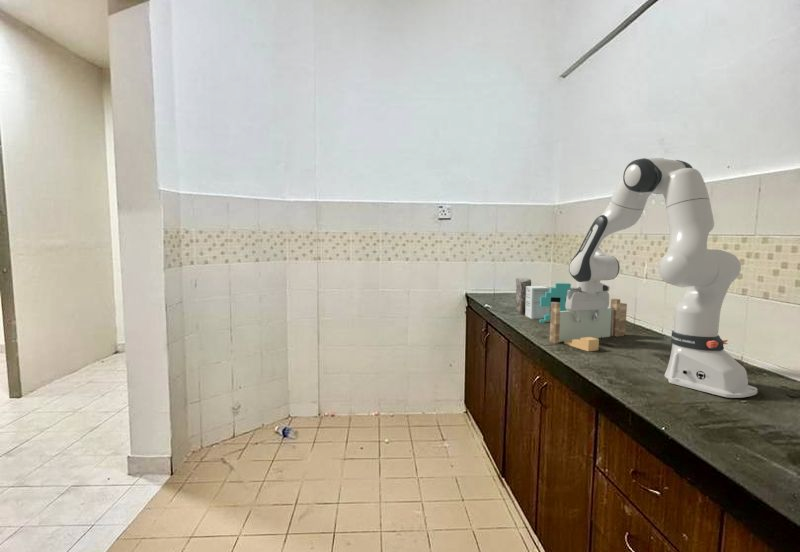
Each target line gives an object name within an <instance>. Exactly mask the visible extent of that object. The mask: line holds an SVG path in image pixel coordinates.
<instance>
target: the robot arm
mask: <svg viewBox="0 0 800 552" xmlns="http://www.w3.org/2000/svg"><path fill="white" fill-rule="evenodd" d="M652 194H654V195H663V198H664V202H665V208H666V213H667V219H668V227H669V243H668V247H667V249H666V250H667V251H666V252H665V254H664V255H663V256H662V258H661V259H660V261H659V264H658V273H659V276H660V278H661V279H662V280H663V281H664V282H665V283H666V284H669V285H672V286H675V287H679V288H686V290H685V292H684V295H683V296H682V297H681V299H680V300H679V301H678V302H677V303H676V305H675V308H674V317H673V318H674V319H673V330H672V331H671V337H670V338H671V339H670V340H671V341H670V344H671V350H670V356H669V361H668V365H667V368H666V370H665V373H664V377H665V378H666V379H667V380H668V383H669V384H672V385H677V386H681V387H683V388H687V389H688V388H689V389H693V390H695V391H699V392H704V393H709V394H710V395H711V394H712V395H714V396H715V395H716V396H719V397H724V398H730V399H733V398H734V399H735V398H739V399H742V398H747V397H748V398H749V397H753V396H755V395H757V394H758V388H757V387H755V386H752V385H749V380H748V374H747V370H746V368H745V367H744V366H743V365H742V364H741V363H739V362H738V361H737V360H736V359H735V358H734V357H733V356H731V355H730V354H729V353H728V352H727V351H726V350H724V349H725V346H724V345H728V343H727V342H728V341H729V340H728V339H725V340H723V339H722V337H721V336H720V335H719V330H720V329H719V327H720V317H721V311H722V310H721V309H722V307H723V303H724V300H725V298H726V295H727V293H728V290H729V289H730V286H731V285H732V284H733V282H734V281H735V280H737V278H738V277H739V276H740V274H741V270H742V267H741V262H740V260H739V258H738V257H737V256H736V255H734V254H733V253H731V252H728V251H725V250H722V249H717V248H716V249H708V237H709V235H710V232H712V231H713V229H714V227H715V221H714V215H713V209H712V205H711V201H710V195H709V191H708V188H707V186H706V183H705V181H704V178H703V175H702V174H701V172H700V171H699V170H698V169H696V168H694V167H693V166H692V165H691V164H690V163H688V162H686V161H683V160H680V159H679V160H678V159H675V160H674V159H667V158H658V157H657V158H638V159H635V160H632V161H631V162H629V163H628V164H627V165H626V167H625V169H624V172H623V175H622V177H621V178H620V179H619V182H618V184H617V185H616V187H615V189H614V192H613V193H612V196H611V199H610V201H609V204H608V205H607V207H606V208H605V210H604V211H603V212H602V213H601V214H600V215H599V216H597V217H596V218H595V219H594V221H593V222H592V224H591V226H590V228H589V230H588V231H587V233H586V235H585V237H584V239H583V241H582V243H581V244H580V247H579V248H578V251H577V252H576V254H575V255H574V256H573V258H572V259H571V260H570V263H569V266H568V273H569V274H570V276H571V277H572V279H574V281H576V282H575V283H576V284H575V287H571V288H570V289H569V290H568V292H567V297H566V304H565V308H566V310H567V311H573V315H574V317H575V322H581V318H580V317H579V315H578V314H579V311H585V310H595V314H594V316H593V320H594V321H598V320H599V315H600V313H601V309H607V308H610V293H609V292H610V289H611V288H610V286H609V285H607V284H605V283H602V282H601V281H611V280H614V279H616V278H617V276H618V275H619V274H620V268H621V267H620V263H619V260H618V259H617V258H616V257H615V256H614V255H610V254H607V253H605V252H603V250H601V248H600V245H601V244H602V242H603V240H605V239H606V238H607V237H609V236H610V235H612V234H614V233H617V232H619V231H624V230H626V229H629V228H631V227H633V226H635V225H636V224H637V222H638V221H639V220H640V218H641V217H642V214H643V213H644V210H645V207H646V204H647V202H648V200H649V197H650V196H651V195H652ZM570 290H571V291H570Z"/></svg>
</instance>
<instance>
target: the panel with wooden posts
mask: <svg viewBox="0 0 800 552" xmlns="http://www.w3.org/2000/svg"><path fill="white" fill-rule="evenodd" d="M560 305H561V303H556V302H551V307H550V310H551V316H550V320H549V321H550V322H549V323H550V325H549V343H552V344H559V343H560V342H559V330H560ZM610 308H613V324H612V337H614V336H616V337H623V336H624V335H625V336H626V328H627V327H626V326H627V310H628V304H627V303H623V302H621V298H619V299H618V298H610Z"/></svg>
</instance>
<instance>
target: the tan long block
mask: <svg viewBox="0 0 800 552" xmlns="http://www.w3.org/2000/svg"><path fill="white" fill-rule="evenodd" d="M563 342H564V344H565V345H567V346H570V347H574V348H577V349H580V350H583V351H587V352H595V351H599V346H600V345H599V344H600V339H599V338H593V337H585V338H580V339H573V340H571V341H563Z"/></svg>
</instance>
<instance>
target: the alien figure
mask: <svg viewBox="0 0 800 552" xmlns="http://www.w3.org/2000/svg"><path fill="white" fill-rule="evenodd" d="M571 286H572V284H571V283H567V282H563V283H562V282H558V283H557V282H555V283H554V287H549V288H550V292H545V297H540V306H547V307H549V308H551V302H556V303H561V305H560V311H567V310H566V308H565V304H566V297H567V292H568V290H569V289H570V288H572V287H571ZM570 291H571V290H570ZM550 318H551V309H549V315H544V319H539V323H540V324H541V323H542V324H544V323H545V324H546V321H550Z"/></svg>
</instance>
